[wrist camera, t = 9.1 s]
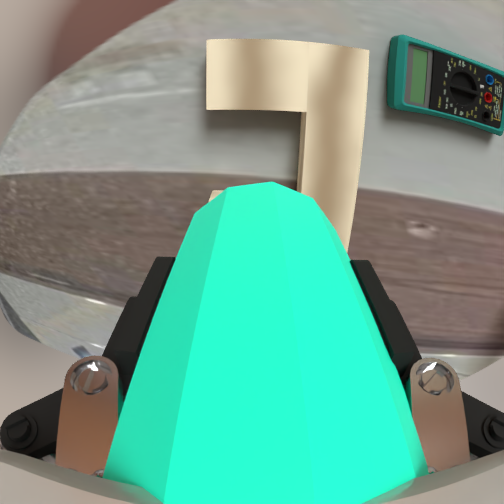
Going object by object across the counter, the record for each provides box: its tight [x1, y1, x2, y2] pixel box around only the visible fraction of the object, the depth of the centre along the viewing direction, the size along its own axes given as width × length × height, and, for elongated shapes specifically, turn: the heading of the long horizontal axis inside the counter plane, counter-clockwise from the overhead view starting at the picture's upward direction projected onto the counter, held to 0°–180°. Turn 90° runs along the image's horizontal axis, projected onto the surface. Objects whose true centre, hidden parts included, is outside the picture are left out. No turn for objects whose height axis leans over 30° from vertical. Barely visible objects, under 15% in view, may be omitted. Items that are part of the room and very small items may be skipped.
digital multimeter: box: [387, 35, 504, 136], centre depth 23 cm, size 7×15×3 cm, turn 88°
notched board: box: [206, 39, 369, 252], centre depth 27 cm, size 13×20×3 cm, turn 179°
